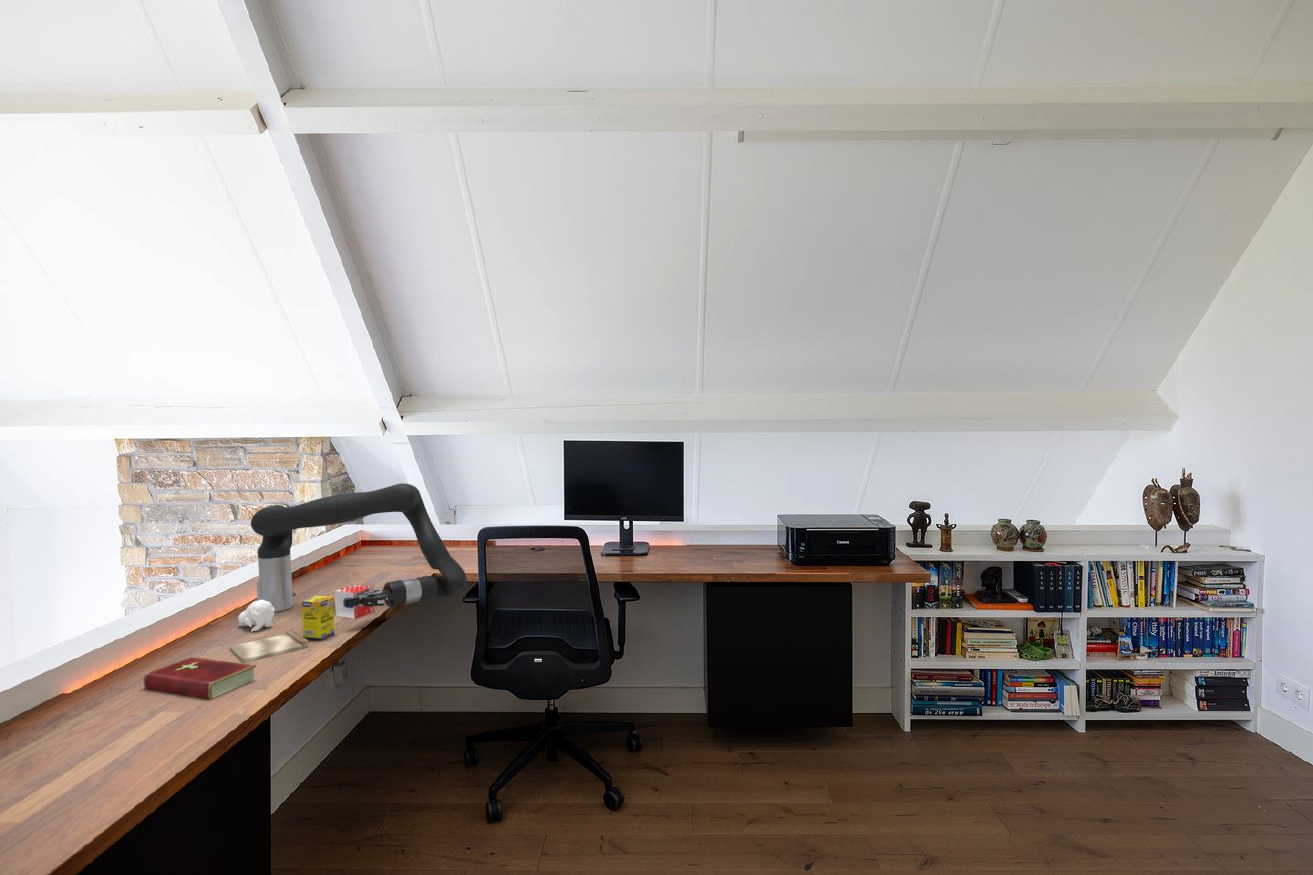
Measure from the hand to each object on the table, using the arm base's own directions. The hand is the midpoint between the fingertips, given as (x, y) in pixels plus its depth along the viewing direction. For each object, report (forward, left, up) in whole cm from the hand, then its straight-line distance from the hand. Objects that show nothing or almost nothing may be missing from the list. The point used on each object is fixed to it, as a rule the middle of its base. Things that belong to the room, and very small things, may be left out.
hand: (344, 603), depth 204 cm
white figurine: (-28, +9, -8) cm, 30 cm away
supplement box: (-6, -4, -8) cm, 11 cm away
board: (-17, -12, -8) cm, 22 cm away
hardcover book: (-23, -35, -9) cm, 43 cm away
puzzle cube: (-2, +18, -8) cm, 20 cm away
